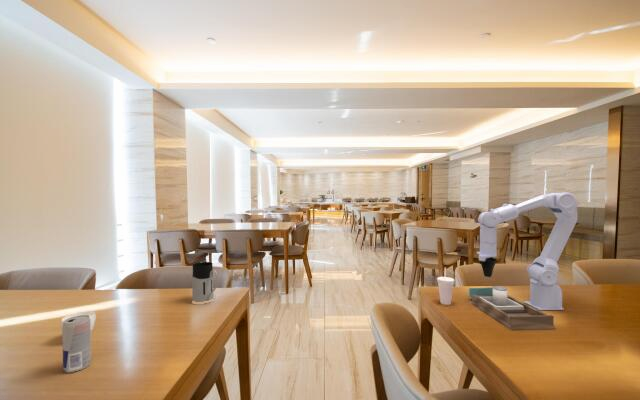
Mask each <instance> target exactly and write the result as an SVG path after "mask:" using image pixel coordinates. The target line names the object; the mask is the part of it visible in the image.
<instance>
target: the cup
mask: <svg viewBox="0 0 640 400" xmlns="http://www.w3.org/2000/svg"><path fill="white" fill-rule="evenodd" d="M80 315H88V316H89V318H90V325H91V332H92V330H93V329H94V327H95V323H96V319H97V315H96V312H95V311H91V310H85V311H79V312H75V313H70V314H68V315H66V316H64V317H63V318H61V320H60V321H61V322H60V323H61V325H60V326H61V327H62V325H63V322H64V321H65V320H66V319H69V318H71V317H75V316H80Z"/></svg>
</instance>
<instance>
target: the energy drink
mask: <svg viewBox="0 0 640 400" xmlns="http://www.w3.org/2000/svg"><path fill="white" fill-rule="evenodd" d="M61 333H62V335H61V337H62V340H61V341H62V371H63V372H64V373H66V372H67V373H69V374H70V372H73V373H76V372H75V371H77V372H80V371H82V370H84V369H86V368H88V367H89V366H90V364H91V362H92V344H91V343H92V340H91V338H92V337H91V335H92V331H91V325H90V318H89V316H88V315H80V316H75V317H71V318H69V319H66V320H65V321H64V322H63V325H62V326H61ZM88 365H89V366H88ZM79 370H80V371H79Z"/></svg>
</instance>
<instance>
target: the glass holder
mask: <svg viewBox="0 0 640 400" xmlns="http://www.w3.org/2000/svg"><path fill="white" fill-rule="evenodd" d="M213 272H214V273H215V284H214V274H213ZM191 275H192V277H191V280H192V281H191V283H192V287H191V288H192V289H191V291H192V297H191V298H192V299H191V301H195V302H204V301H209V300H211V299H213V297H214V291H215V290H216V289H217V286H218V283H219V274H218V272H217V270H216V269H213V262H211V261H201V262H195V263H193V264H192V274H191Z"/></svg>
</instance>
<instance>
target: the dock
mask: <svg viewBox="0 0 640 400" xmlns="http://www.w3.org/2000/svg"><path fill="white" fill-rule="evenodd" d="M507 298H508V299H510V300H512V301H514V302H516V303H518V304H520V305H522V306H524V309H526V312H520V313H505V312H503V311H501V310H500V309H498V308H496V307H495V306H493V305H491V304H489V303H488V302H486V301H484V300H483V299H481V298H479V297H478V296H476V295H472V298H471V299H472V300H471V301H470V305H472V306H474V307H475V308H477V309H478V310H479V311H481V312H483V313H484V314H486V315H487V316H489V317H491V318H492V319H494V320H495V321H497V322H498V323H499V324H501V325H503V326H504V327H506V328H507V329H508V330H510V331H512V330H514V331H515V330H516V331H517V330H524V331H525V330H553V329H554V330H555V329H556V325H555V324H554V322H555V321H554V318H555V317H554V315H552V314H547V313H545V312H542V310H538V309H536V308H534V307H532V306H530V305H528V304H526V303H524V302H523V301H520V300H519V299H516V298H514V297H512V296H511V295H509V294H507Z"/></svg>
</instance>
